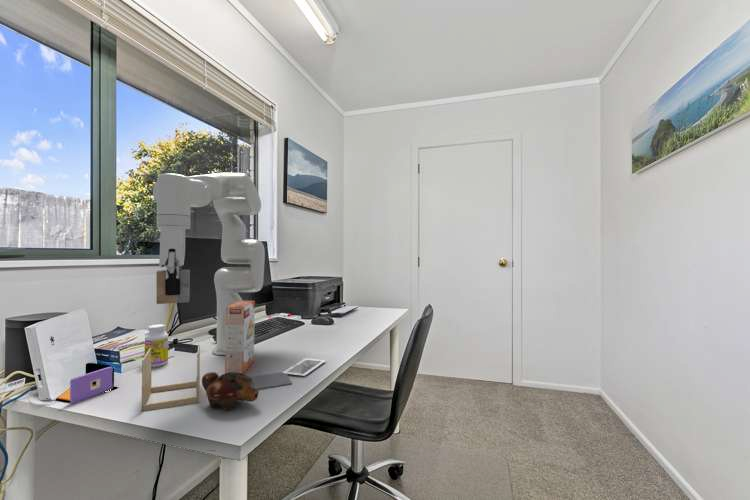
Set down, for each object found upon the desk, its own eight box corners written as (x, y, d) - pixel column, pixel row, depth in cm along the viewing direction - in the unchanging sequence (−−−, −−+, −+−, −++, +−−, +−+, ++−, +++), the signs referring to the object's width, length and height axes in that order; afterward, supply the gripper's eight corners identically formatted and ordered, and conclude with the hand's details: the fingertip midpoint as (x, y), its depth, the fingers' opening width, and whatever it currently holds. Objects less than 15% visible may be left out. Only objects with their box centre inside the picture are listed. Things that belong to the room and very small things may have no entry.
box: (159, 301, 89) (159, 270, 89) (189, 299, 92) (189, 269, 92) (156, 304, 85) (156, 271, 84) (188, 302, 88) (188, 270, 88)
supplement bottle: (139, 368, 110) (139, 328, 110) (152, 361, 117) (152, 323, 117) (160, 367, 110) (161, 328, 111) (172, 361, 117) (172, 323, 117)
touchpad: (326, 363, 117) (326, 357, 117) (304, 379, 102) (304, 372, 102) (305, 361, 119) (305, 355, 119) (281, 376, 105) (281, 369, 105)
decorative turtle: (214, 395, 90) (214, 365, 90) (268, 400, 87) (268, 368, 87) (187, 412, 80) (187, 378, 80) (246, 418, 77) (247, 383, 77)
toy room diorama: (121, 389, 94) (121, 364, 94) (71, 409, 82) (71, 380, 82) (89, 384, 97) (89, 360, 97) (37, 402, 86) (37, 375, 86)
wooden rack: (149, 393, 91) (149, 347, 91) (199, 385, 96) (199, 342, 96) (141, 412, 80) (141, 360, 80) (198, 402, 85) (198, 354, 85)
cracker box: (244, 375, 104) (245, 306, 104) (224, 375, 104) (224, 306, 104) (255, 360, 118) (255, 299, 118) (237, 361, 118) (237, 300, 118)
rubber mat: (250, 377, 102) (250, 376, 102) (285, 372, 106) (285, 371, 106) (254, 390, 93) (254, 388, 93) (291, 384, 97) (291, 382, 97)
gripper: (161, 224, 94) (161, 290, 94) (151, 220, 79) (151, 299, 79) (192, 225, 97) (192, 289, 98) (188, 221, 82) (188, 297, 82)
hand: (173, 292), depth 88 cm, fingers closed on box, 5 cm apart
